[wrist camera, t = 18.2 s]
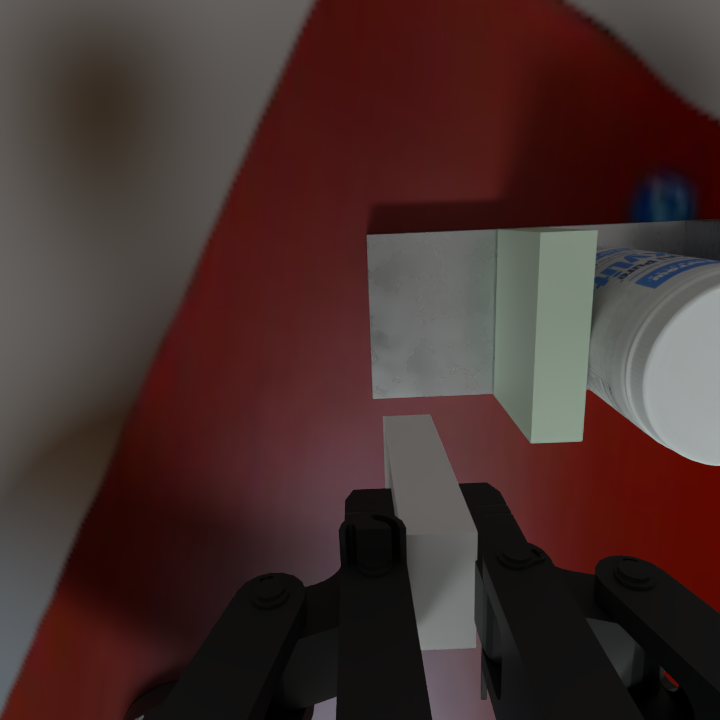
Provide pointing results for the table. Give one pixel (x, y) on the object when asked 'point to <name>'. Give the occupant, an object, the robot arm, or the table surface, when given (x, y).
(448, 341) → the vise
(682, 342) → the supplement tub
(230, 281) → the table surface
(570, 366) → the block
